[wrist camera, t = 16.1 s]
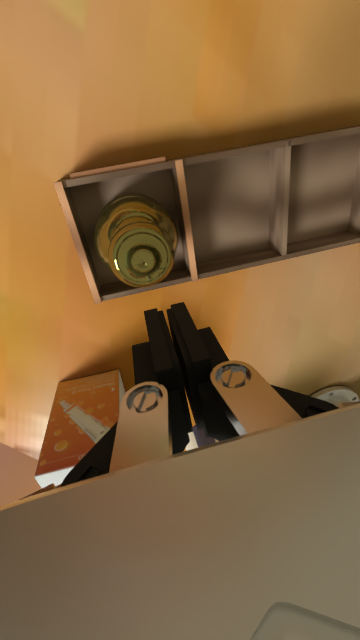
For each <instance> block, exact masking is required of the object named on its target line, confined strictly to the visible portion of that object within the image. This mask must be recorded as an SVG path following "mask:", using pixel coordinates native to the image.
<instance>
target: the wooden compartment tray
mask: <svg viewBox="0 0 360 640" xmlns="http://www.w3.org/2000/svg"><path fill="white" fill-rule="evenodd" d="M69 175H70V178H69V179H63V180H58V181H57V182H55V183H54V186H55V189H56V192H57V195H58V197H59V200H60V203H61V206H62V209H63V212H64V215H65V218H66V221H67V223H68V226H69V229H70V232H71V235H72V238H73V241H74V244H75V247H76V249H77V252H78V255H79V258H80V261H81V264H82V267H83V270H84V272H85V275H86V278H87V281H88V284H89V287H90V290H91V293H92V296H93V298H94V301H95V304H98V303H101V302H102V301H105V300H110V299H114V298H118V297H123V296H127V295H132V294H136V293H140V292H145V291H149V290H153V289H158V288H162V287H167V286H171V285H175V284H180V283H184V282H188V281H192V282H194V281H198V279H202V278H206V277H210V276H215V275H219V274H223V273H228V272H232V271H237V270H241V269H245V268H250V267H254V266H259V265H263V264H267V263H272V262H276V261H280V260H285V259H289V258H294V257H298V256H302V255H307V254H311V253H315V252H320V251H324V250H329V249H333V248H337V247H342V246H346V245H350V244H355V243H359V242H360V125H359V126H354V127H348V128H343V129H337V130H332V131H326V132H321V133H315V134H310V135H304V136H299V137H293V138H288V139H282V140H277V141H271V142H266V143H260V144H255V145H249V146H244V147H239V148H233V149H228V150H222V151H217V152H211V153H206V154H200V155H195V156H189V157H184V158H178V159H173V160H167V161H166V159H165V157H158V158H152V159H147V160H141V161H136V162H130V163H125V164H119V165H113V166H108V167H102V168H97V169H91V170H86V171H80V172H75V173H71V174H69ZM125 193H140V194H144V195H146V196H149V197H151V198H153V199H154V200H156V201H157V202H159V203H160V204H161V205H162V206H163V207H164V208H165V209H166V210H167V211H168V212H169V213H170V215H171V216H172V218H173V220H174V222H175V224H176V227H177V232H178V246H177V251H176V254H175V258H174V264H173V267H172V269H171V271H170V272H169V274H168V275H167V276H166V277H165V278H164V279H163V280H162V281H161V282H159V283H157V284H155V285H153V286H149V287H134V286H130V285H128V284H126V283H124V282H122V281H121V280H120V279H119V278H117V276H116V275H115V274H114V273H112V272H111V271H110V270H109V269H107V268H106V267H105V265H104V264H103V263H102V262H101V260H100V258H99V257H98V254H97V252H96V249H95V245H94V230H95V226H96V221H97V218H98V216H99V214H100V212H101V210H102V209H103V207H104V206H105V205H106V204H107V203H108V202H109V201H110V200H111V199H113V198H114V197H116V196H118V195H121V194H125Z"/></svg>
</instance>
